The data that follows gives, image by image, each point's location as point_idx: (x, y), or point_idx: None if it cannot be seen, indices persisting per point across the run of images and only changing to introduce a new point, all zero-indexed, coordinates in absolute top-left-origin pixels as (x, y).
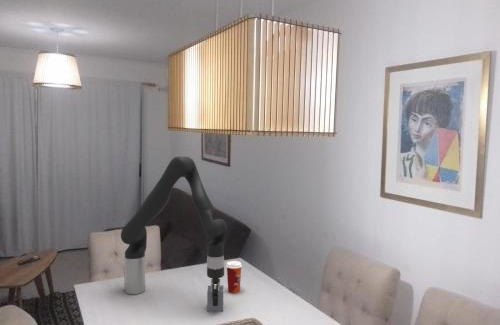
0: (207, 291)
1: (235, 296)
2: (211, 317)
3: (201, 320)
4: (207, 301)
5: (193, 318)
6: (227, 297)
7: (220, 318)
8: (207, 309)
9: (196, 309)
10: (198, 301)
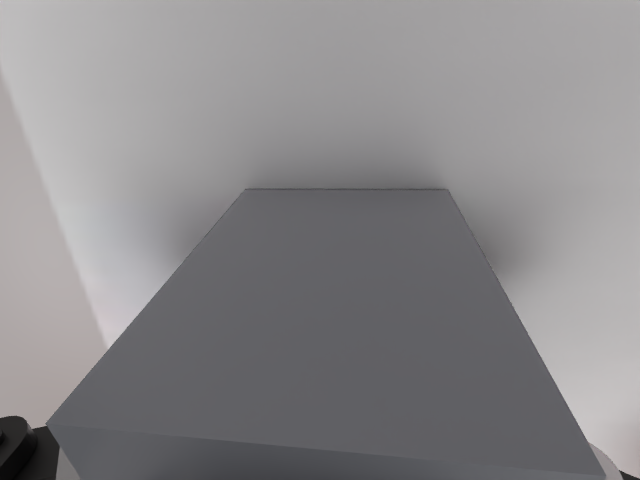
0: (77, 428)
1: (600, 444)
2: (124, 235)
3: (25, 132)
4: (188, 259)
5: (31, 13)
6: (606, 387)
7: (127, 309)
8: (237, 201)
9: (307, 22)
10: (625, 19)
